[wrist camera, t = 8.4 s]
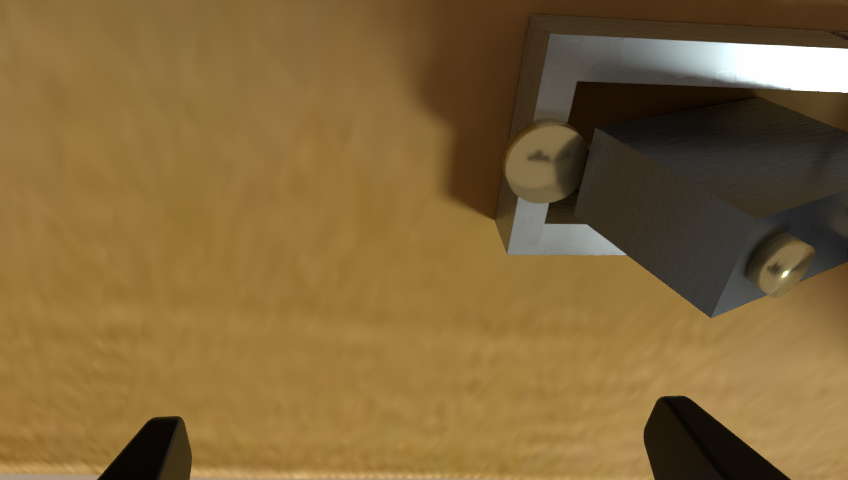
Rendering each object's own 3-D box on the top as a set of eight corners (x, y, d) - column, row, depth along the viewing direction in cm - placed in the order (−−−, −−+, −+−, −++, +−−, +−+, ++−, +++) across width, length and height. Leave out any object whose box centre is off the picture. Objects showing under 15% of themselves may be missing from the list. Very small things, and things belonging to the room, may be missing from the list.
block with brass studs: (574, 214, 18) (732, 334, 14) (595, 127, 16) (781, 234, 12) (727, 174, 21) (895, 262, 17) (759, 96, 19) (951, 174, 15)
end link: (823, 30, 18) (887, 57, 16) (736, 223, 22) (778, 265, 20) (506, 13, 17) (529, 39, 14) (475, 221, 21) (489, 266, 18)
